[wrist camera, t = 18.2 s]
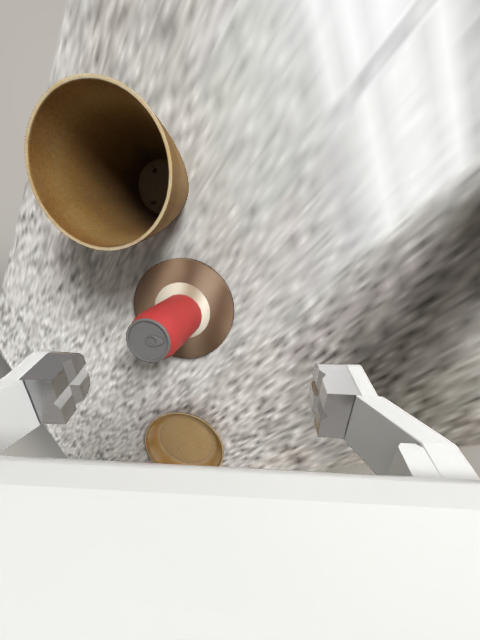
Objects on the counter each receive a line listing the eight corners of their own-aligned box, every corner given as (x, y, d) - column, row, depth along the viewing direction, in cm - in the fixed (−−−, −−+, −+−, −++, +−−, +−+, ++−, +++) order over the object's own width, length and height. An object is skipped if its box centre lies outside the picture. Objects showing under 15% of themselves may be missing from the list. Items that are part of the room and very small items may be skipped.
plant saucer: (235, 420, 53) (233, 429, 50) (215, 480, 57) (212, 491, 55) (158, 393, 54) (152, 401, 51) (145, 454, 58) (138, 464, 56)
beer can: (204, 334, 47) (176, 368, 35) (164, 333, 48) (125, 365, 36) (202, 293, 45) (172, 315, 33) (160, 292, 46) (118, 313, 34)
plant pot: (98, 196, 44) (0, 180, 29) (153, 105, 40) (68, 29, 25) (173, 263, 46) (115, 281, 31) (236, 182, 41) (203, 156, 26)
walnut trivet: (241, 268, 44) (240, 270, 43) (226, 363, 49) (224, 368, 48) (141, 249, 46) (136, 250, 44) (136, 343, 51) (131, 346, 49)
